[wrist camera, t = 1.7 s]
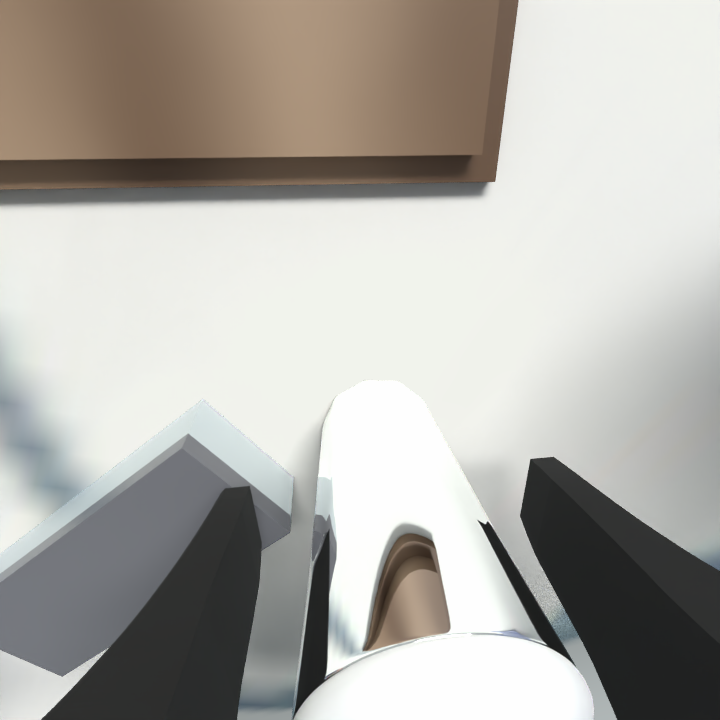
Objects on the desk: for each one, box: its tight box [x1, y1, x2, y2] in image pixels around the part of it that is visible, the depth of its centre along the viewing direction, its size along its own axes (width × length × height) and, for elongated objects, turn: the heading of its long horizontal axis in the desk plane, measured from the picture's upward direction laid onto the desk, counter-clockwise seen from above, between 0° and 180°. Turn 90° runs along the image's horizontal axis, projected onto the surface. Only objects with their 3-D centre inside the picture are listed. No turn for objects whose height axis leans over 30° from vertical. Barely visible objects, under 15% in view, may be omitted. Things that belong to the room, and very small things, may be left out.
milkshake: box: [292, 380, 594, 720], centre depth 9 cm, size 5×5×10 cm
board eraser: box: [0, 399, 294, 677], centre depth 14 cm, size 10×4×3 cm, turn 127°
